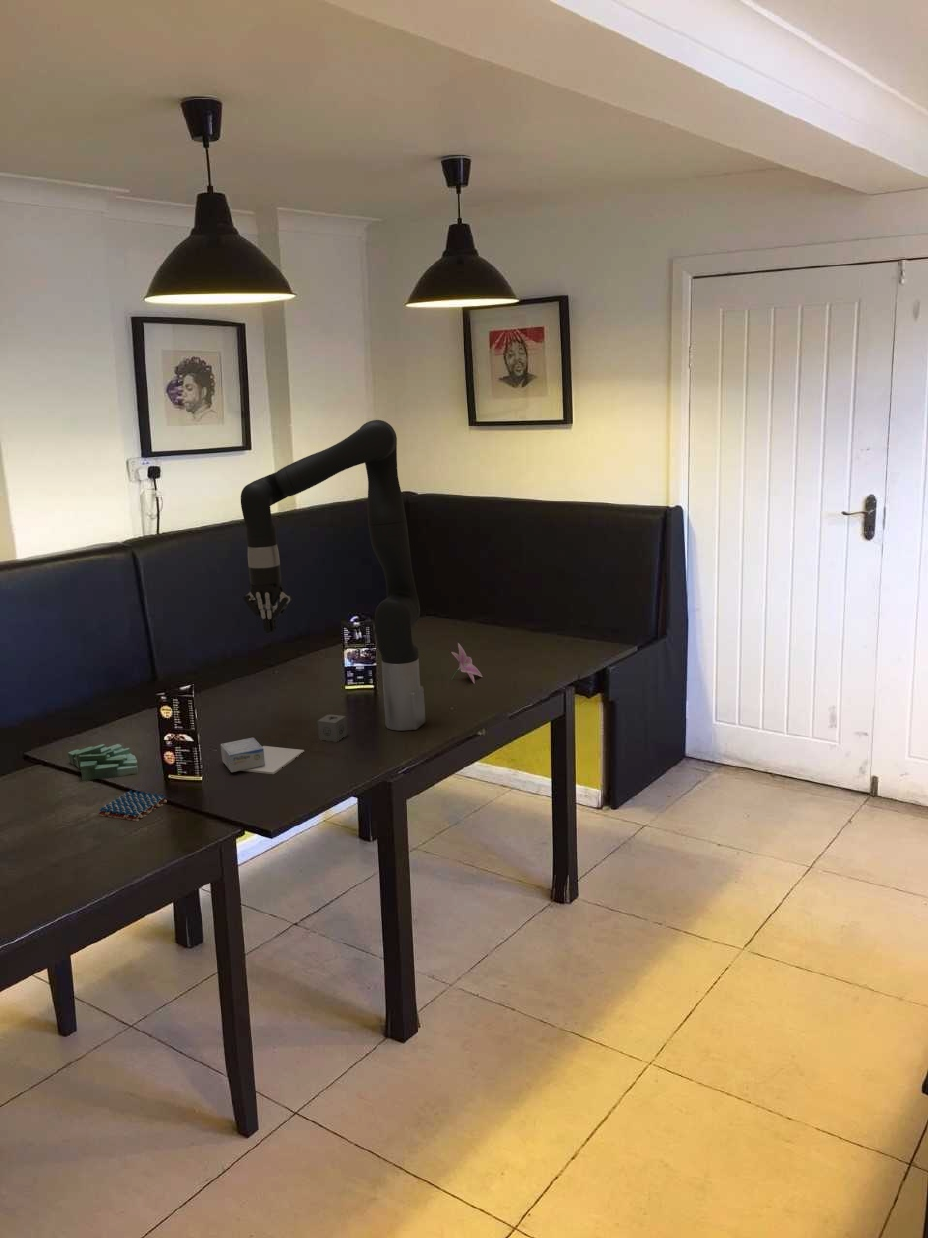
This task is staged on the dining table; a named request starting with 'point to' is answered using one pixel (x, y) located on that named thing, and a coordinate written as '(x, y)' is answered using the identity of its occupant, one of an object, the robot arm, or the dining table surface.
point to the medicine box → (242, 754)
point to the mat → (276, 759)
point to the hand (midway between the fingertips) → (270, 632)
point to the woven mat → (132, 805)
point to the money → (104, 761)
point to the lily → (466, 664)
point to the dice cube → (332, 728)
